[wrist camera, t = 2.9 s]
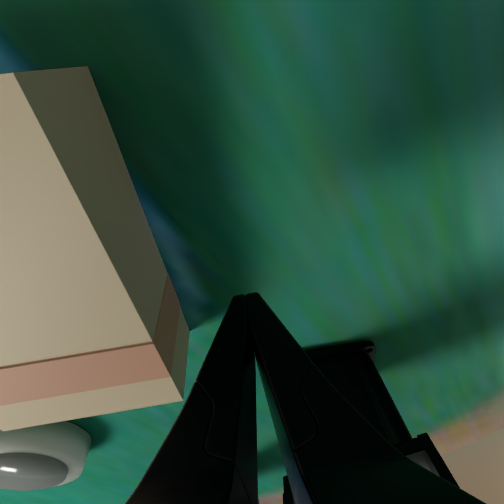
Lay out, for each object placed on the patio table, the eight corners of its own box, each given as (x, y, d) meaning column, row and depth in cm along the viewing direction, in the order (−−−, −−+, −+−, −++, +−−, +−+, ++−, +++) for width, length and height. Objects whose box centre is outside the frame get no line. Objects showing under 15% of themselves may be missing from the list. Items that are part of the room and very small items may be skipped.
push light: (62, 408, 21) (46, 444, 19) (107, 451, 26) (98, 484, 24) (-47, 426, 21) (-74, 465, 19) (18, 466, 25) (1, 501, 23)
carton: (90, 65, 10) (12, 72, 6) (190, 329, 18) (183, 402, 14) (-177, 105, 10) (-429, 137, 6) (46, 353, 18) (1, 433, 14)
